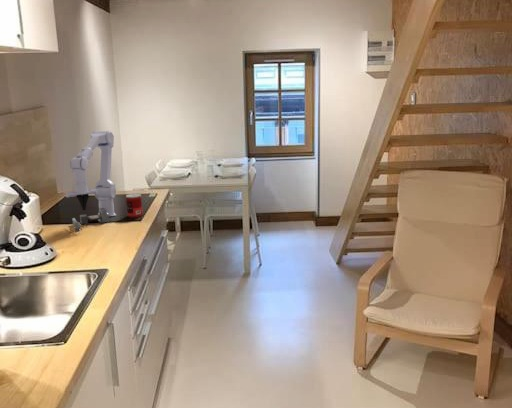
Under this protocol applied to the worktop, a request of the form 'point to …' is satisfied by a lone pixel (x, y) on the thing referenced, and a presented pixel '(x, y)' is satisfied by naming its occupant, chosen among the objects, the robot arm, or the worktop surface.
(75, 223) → the grey lever bar
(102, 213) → the eye bracket
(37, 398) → the worktop surface
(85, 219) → the hook rod
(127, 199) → the canned food
